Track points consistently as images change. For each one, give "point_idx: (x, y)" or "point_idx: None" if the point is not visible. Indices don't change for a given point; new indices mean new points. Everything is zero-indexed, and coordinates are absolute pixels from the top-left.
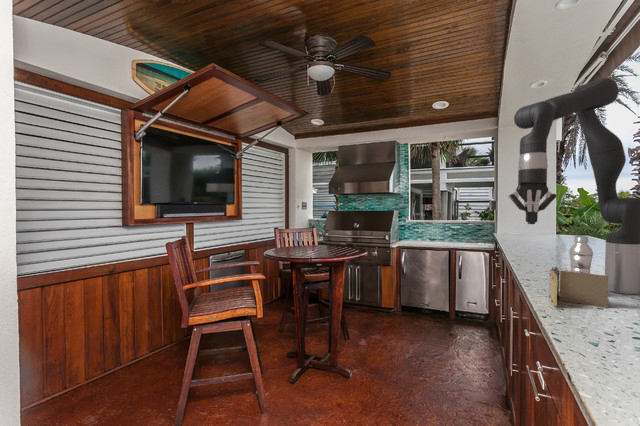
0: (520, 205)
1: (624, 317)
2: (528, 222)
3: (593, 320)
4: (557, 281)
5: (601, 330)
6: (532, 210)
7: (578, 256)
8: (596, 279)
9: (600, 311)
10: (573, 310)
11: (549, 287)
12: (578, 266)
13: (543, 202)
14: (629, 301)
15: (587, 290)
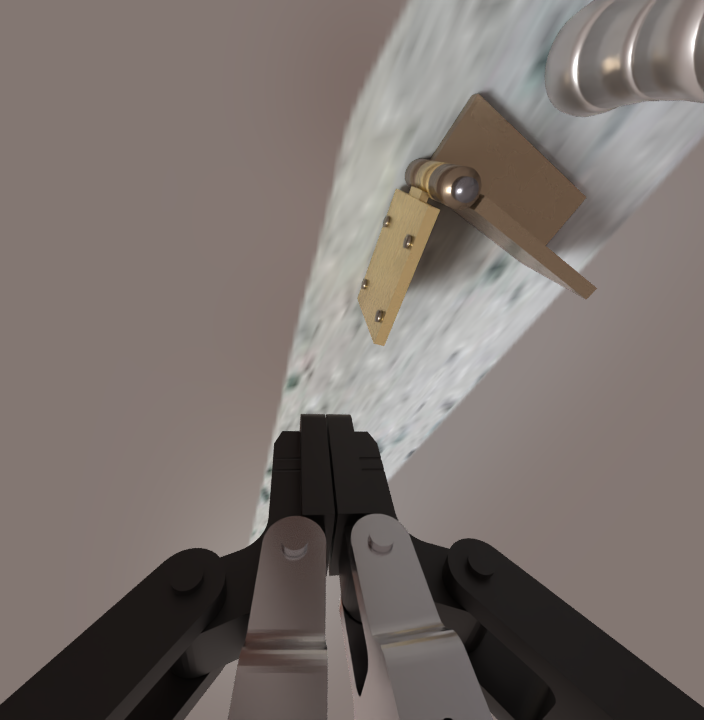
0: (143, 707)
1: (496, 339)
2: (299, 439)
3: (401, 379)
4: None
5: (376, 434)
6: (343, 572)
7: (695, 86)
8: (553, 275)
9: (475, 300)
10: (403, 309)
11: (402, 206)
12: (647, 85)
13: (558, 689)
14: (676, 149)
15: (510, 248)
